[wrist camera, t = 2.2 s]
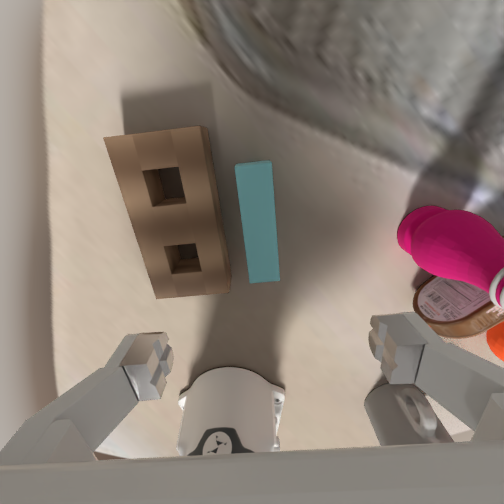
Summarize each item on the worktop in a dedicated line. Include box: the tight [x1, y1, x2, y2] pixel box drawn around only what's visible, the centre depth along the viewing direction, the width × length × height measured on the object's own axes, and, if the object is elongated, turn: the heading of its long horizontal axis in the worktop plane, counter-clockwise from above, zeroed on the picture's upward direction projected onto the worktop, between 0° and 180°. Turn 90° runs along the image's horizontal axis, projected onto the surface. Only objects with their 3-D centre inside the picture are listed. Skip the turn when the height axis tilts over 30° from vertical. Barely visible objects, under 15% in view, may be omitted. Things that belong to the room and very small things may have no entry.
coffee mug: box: [364, 383, 454, 446], centre depth 38 cm, size 13×10×10 cm
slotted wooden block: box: [103, 126, 232, 299], centre depth 27 cm, size 18×9×4 cm, turn 6°
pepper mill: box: [397, 206, 504, 310], centre depth 21 cm, size 7×7×20 cm
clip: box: [235, 160, 280, 283], centre depth 25 cm, size 11×3×8 cm, turn 6°
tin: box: [413, 236, 504, 339], centre depth 28 cm, size 15×3×8 cm, turn 138°
